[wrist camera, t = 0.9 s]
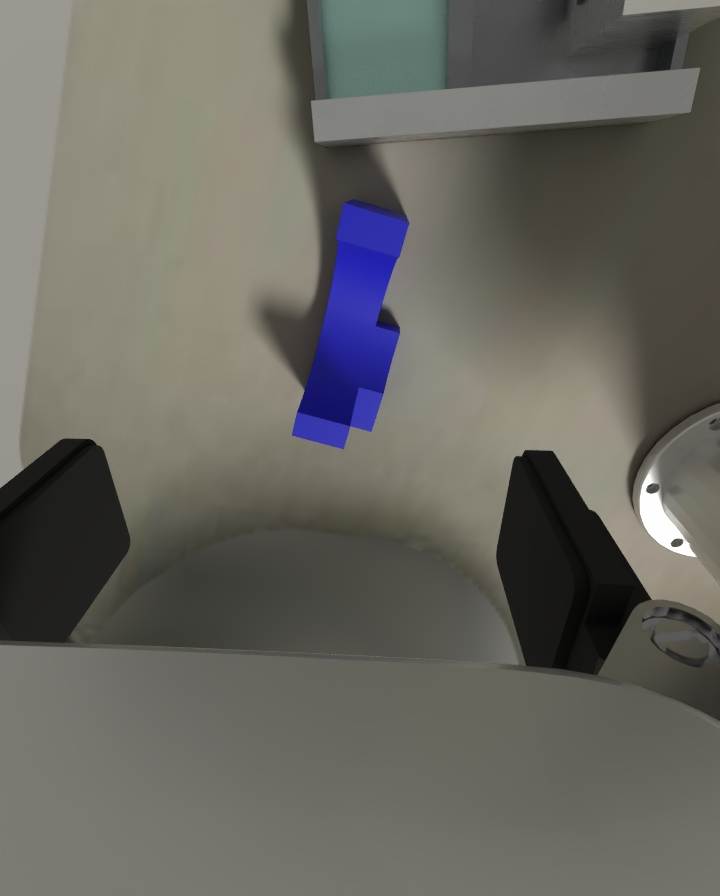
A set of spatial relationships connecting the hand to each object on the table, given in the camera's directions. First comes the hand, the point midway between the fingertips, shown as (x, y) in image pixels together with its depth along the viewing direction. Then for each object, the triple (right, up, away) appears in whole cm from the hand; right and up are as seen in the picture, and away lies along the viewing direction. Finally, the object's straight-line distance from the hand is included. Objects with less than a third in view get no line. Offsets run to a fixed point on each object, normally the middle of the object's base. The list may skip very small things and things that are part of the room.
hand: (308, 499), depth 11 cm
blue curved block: (+2, +9, +18) cm, 21 cm away
